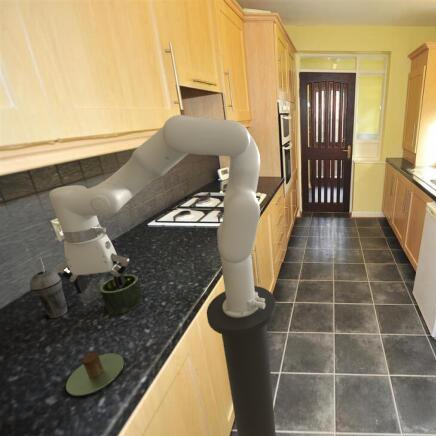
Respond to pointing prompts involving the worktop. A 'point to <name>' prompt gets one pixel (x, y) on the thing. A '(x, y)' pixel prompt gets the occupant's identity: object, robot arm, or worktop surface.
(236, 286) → the robot arm
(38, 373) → the worktop surface
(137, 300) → the tin
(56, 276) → the beverage cup
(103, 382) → the lid
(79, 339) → the worktop surface
